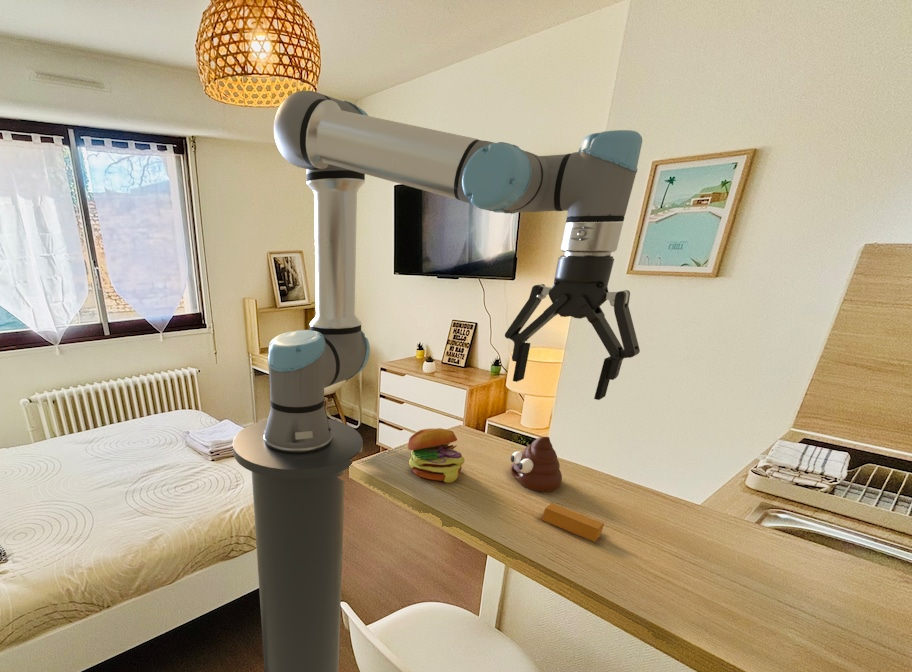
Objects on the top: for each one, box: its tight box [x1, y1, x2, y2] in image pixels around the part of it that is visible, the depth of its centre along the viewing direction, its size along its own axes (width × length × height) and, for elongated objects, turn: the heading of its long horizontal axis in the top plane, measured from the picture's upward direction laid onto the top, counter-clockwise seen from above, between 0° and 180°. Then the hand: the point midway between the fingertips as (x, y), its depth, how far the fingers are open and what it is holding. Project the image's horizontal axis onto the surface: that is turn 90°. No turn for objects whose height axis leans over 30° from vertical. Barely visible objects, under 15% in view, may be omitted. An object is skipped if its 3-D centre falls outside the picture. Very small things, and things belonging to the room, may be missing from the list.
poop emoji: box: [510, 436, 563, 492], centre depth 86 cm, size 10×8×9 cm
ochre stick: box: [541, 502, 605, 542], centre depth 74 cm, size 8×2×2 cm, turn 42°
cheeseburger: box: [407, 427, 465, 484], centre depth 90 cm, size 10×11×10 cm
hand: (556, 388), depth 80 cm, fingers open, 13 cm apart
